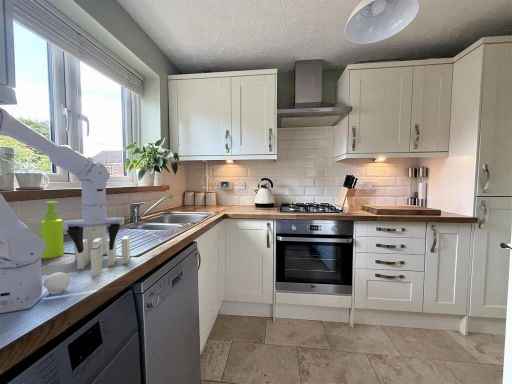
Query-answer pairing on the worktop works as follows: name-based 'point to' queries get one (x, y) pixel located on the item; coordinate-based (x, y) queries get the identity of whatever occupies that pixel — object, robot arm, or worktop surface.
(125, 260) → the domino
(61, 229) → the soap dispenser
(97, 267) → the domino
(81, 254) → the domino
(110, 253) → the domino
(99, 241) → the domino
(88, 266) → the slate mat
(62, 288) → the mushroom
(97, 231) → the small box
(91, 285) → the worktop surface
